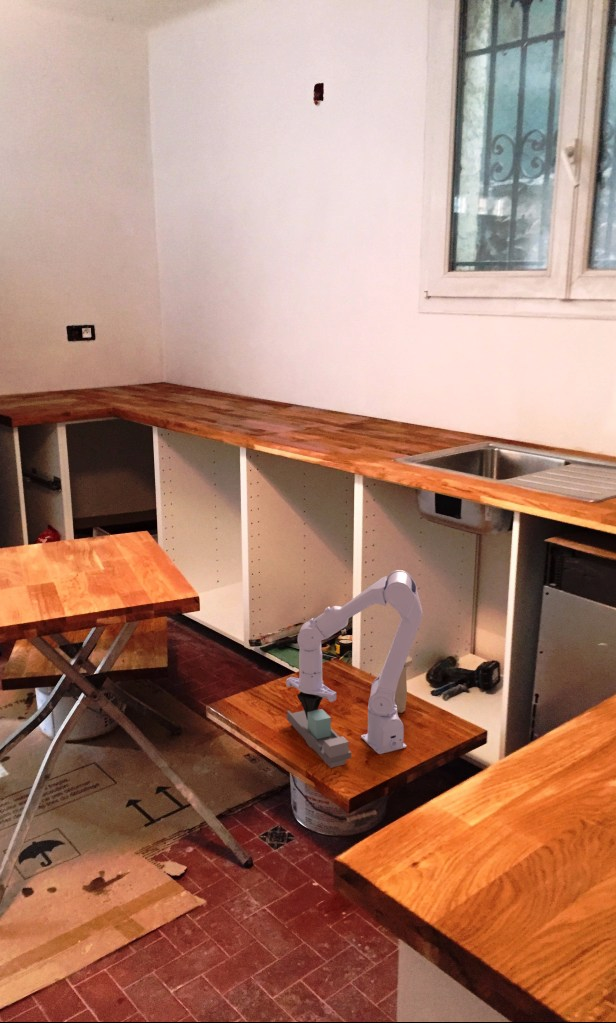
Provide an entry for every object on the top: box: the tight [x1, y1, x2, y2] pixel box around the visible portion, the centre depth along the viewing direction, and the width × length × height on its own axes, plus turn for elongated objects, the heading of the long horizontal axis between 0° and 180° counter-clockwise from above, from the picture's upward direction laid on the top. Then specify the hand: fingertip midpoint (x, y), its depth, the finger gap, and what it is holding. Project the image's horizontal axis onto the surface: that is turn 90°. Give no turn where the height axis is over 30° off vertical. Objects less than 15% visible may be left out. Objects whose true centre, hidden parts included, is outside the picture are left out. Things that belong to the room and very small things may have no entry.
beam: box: [286, 710, 352, 769], centre depth 212 cm, size 24×6×6 cm, turn 25°
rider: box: [308, 708, 332, 739], centre depth 211 cm, size 5×4×5 cm
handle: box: [394, 655, 413, 714], centre depth 227 cm, size 5×6×15 cm
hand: (311, 718), depth 215 cm, fingers closed
